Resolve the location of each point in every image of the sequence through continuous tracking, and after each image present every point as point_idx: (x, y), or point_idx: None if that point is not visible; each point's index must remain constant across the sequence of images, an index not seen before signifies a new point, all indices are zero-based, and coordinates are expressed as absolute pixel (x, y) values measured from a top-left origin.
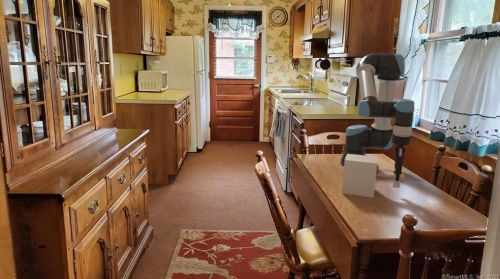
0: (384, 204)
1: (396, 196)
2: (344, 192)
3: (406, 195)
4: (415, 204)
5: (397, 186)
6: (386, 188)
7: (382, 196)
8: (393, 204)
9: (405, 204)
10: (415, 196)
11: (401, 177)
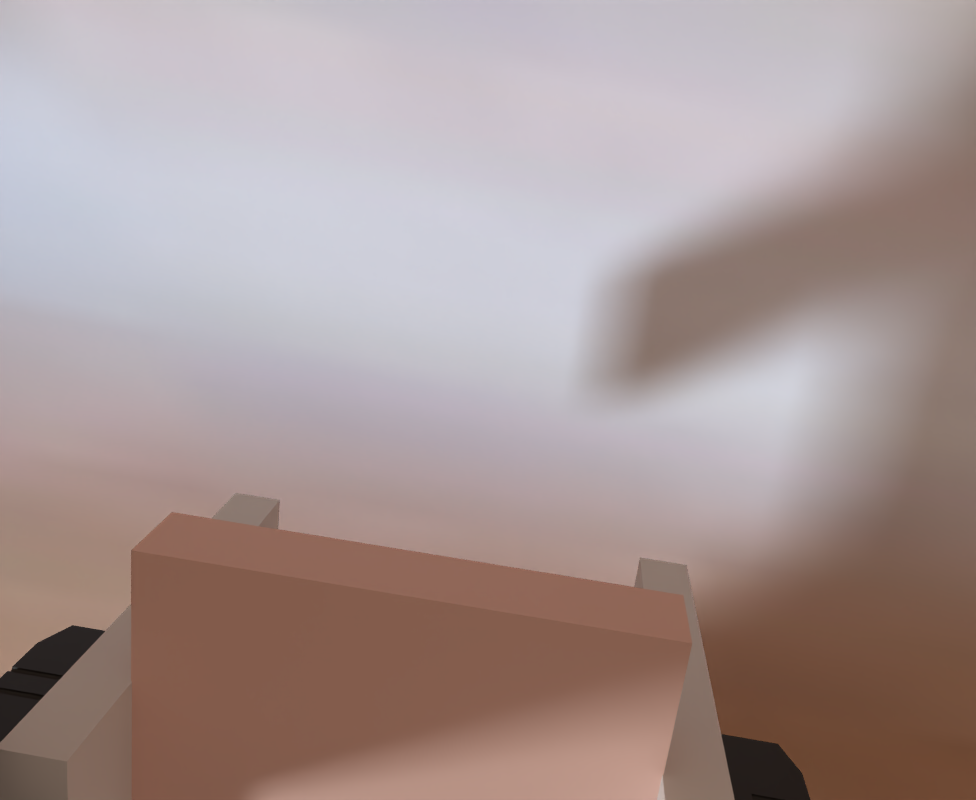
0: (972, 730)
1: (469, 443)
2: None
3: (342, 226)
4: (875, 136)
5: None
6: (58, 546)
7: None
8: (948, 579)
9: (910, 353)
10: (343, 31)
11: (669, 722)
